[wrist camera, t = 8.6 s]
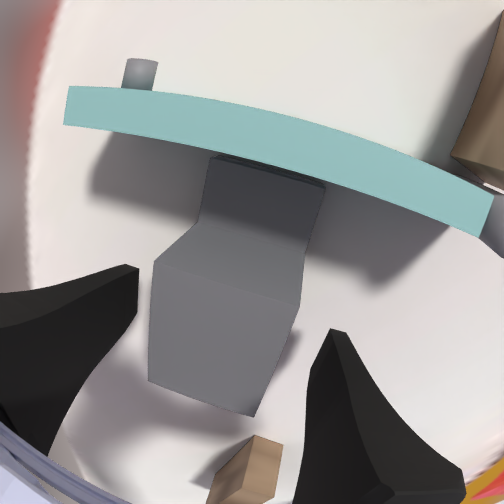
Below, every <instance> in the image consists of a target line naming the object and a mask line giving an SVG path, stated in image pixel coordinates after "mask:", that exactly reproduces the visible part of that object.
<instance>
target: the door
mask: <svg viewBox="0 0 504 504" xmlns="http://www.w3.org/2000/svg"><path fill="white" fill-rule="evenodd" d="M157 66H158V62H156V61H152V60H146V59H134V58H131V59H127V63H126V68H125V72H124V76H123V81H122V86H121V88H111V87H89V86H69V90H68V95H67V101H66V108H65V115H64V122H63V125H69V126H78V127H86V128H93V129H100V130H107V131H114V132H120V133H127V134H133V135H138V136H144V137H150V138H155V139H161V140H166V141H171V142H176V143H181V144H186V145H191V146H195V147H200V148H205V149H209V150H213V151H218V152H222V153H226V154H231V155H235V156H239V157H243V158H247V159H251V160H255V161H259V162H262V163H266V164H270V165H274V166H277V167H281V168H285V169H288V170H292V171H295V172H299V173H302V174H305V175H309V176H312V177H315V178H319V179H322V180H325V181H328V182H332V183H335V184H338V185H341V186H344V187H347V188H350V189H353V190H356V191H359V192H362V193H365V194H368V195H371V196H374V197H377V198H380V199H382V200H385V201H388V202H391V203H394V204H396V205H399V206H402V207H404V208H407V209H410V210H412V211H415V212H418V213H420V214H423V215H425V216H428V217H430V218H433V219H435V220H438V221H440V222H443V223H445V224H448V225H450V226H452V227H455V228H457V229H459V230H462V231H464V232H466V233H469V234H471V235H473V236H475V237H478V238H479V239H480V240H481V241H483V242H484V243H485V244H486V245H487V246H489V247H490V248H491V249H492V250H493V251H494V252H496V253H497V254H498V255H499V256H500V257H502V258H504V194H502V193H499V192H497V191H495V190H493V189H491V188H488V187H486V186H484V185H482V184H479V183H477V182H475V181H472V180H470V179H467V178H465V177H462V176H459V175H452V174H450V173H448V172H446V171H443V170H441V169H439V168H437V167H435V166H432V165H430V164H428V163H425V162H423V161H421V160H418V159H416V158H414V157H411V156H409V155H406V154H404V153H401V152H399V151H396V150H393V149H391V148H388V147H386V146H383V145H380V144H377V143H375V142H372V141H369V140H366V139H363V138H360V137H357V136H354V135H351V134H348V133H345V132H342V131H339V130H336V129H333V128H329V127H326V126H323V125H319V124H316V123H313V122H309V121H305V120H302V119H298V118H294V117H291V116H287V115H283V114H279V113H275V112H271V111H266V110H262V109H258V108H253V107H248V106H244V105H239V104H234V103H229V102H223V101H218V100H212V99H207V98H201V97H194V96H188V95H181V94H173V93H165V92H157V91H152V87H153V83H154V78H155V74H156V70H157Z"/></svg>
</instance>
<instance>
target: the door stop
mask: <svg viewBox="0 0 504 504" xmlns="http://www.w3.org/2000/svg"><path fill="white" fill-rule="evenodd" d="M324 192H325V185H324V184H323V183H320V182H316V181H313V180H310V179H306V178H303V177H299V176H296V175H293V174H289V173H285V172H282V171H278V170H275V169H271V168H267V167H264V166H260V165H256V164H252V163H248V162H244V161H240V160H236V159H232V158H228V157H224V156H220V155H218V156H215V157H212V158H210V162H209V166H208V171H207V176H206V181H205V186H204V192H203V197H202V202H201V207H200V213H199V218H198V222H197V223H196V224H195V225H194V226H193V227H192V228H191V229H189V230H188V231H187V232H186V233H185V234H184V235H183V236H181V237H180V238H179V239H178V240H177V241H176V242H175V243H173V244H172V245H171V246H170V247H169V248H168V249H167V250H166V251H164V252H163V253H162V254H161V255H160V256H159V257H158V258H157V259H156V260H155V261H154V266H153V277H152V290H151V304H150V321H149V344H148V381H149V382H152V383H154V384H156V385H159V386H161V387H164V388H166V389H169V390H172V391H174V392H177V393H180V394H182V395H185V396H188V397H190V398H193V399H196V400H199V401H202V402H205V403H208V404H211V405H214V406H217V407H220V408H223V409H226V410H230V411H233V412H236V413H240V414H243V415H246V416H250V417H254V416H255V414H256V412H257V409H258V407H259V405H260V403H261V400H262V398H263V396H264V393H265V391H266V389H267V386H268V384H269V382H270V379H271V377H272V375H273V372H274V370H275V368H276V365H277V363H278V360H279V358H280V355H281V353H282V351H283V348H284V346H285V343H286V341H287V338H288V336H289V333H290V330H291V328H292V325H293V323H294V320H295V318H296V315H297V312H298V310H299V307H300V300H301V290H302V280H303V269H304V258H305V252H306V249H307V246H308V243H309V240H310V237H311V233H312V230H313V227H314V224H315V221H316V218H317V215H318V211H319V208H320V205H321V202H322V199H323V195H324Z"/></svg>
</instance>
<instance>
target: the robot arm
mask: <svg viewBox="0 0 504 504" xmlns="http://www.w3.org/2000/svg"><path fill="white" fill-rule="evenodd" d="M138 283H139V268H136V267H133V266H130V265H127V264H123V265H119V266H116V267H112V268H109V269H106V270H103V271H100V272H97V273H94V274H91V275H88V276H85V277H82V278H78V279H75V280H71V281H68V282H64V283H61V284H58V285H54V286H49V287H45V288H40V289H34V290H28V291H20V292H10V293H0V504H63V503H62V502H60V501H58V500H57V499H55V498H54V497H53V496H52V495H51V494H50V493H49V492H47V490H46V489H45V488H44V487H43V486H42V485H41V484H40V483H39V481H38V479H37V478H36V477H34V476H33V475H32V474H31V473H30V472H29V471H31V472H32V473H33V474H35V475H36V476H38V477H39V478H41V479H42V480H44V481H45V482H46V483H48V484H49V485H51V486H52V487H54V488H55V489H57V490H58V491H60V492H62V493H63V494H65V495H66V496H68V497H70V498H71V499H73V500H75V501H77V502H78V503H80V504H131V503H129V502H127V501H124V500H122V499H120V498H118V497H116V496H114V495H112V494H110V493H108V492H106V491H104V490H102V489H100V488H98V487H96V486H94V485H93V484H91V483H89V482H87V481H85V480H84V479H82V478H80V477H78V476H77V475H75V474H73V473H71V472H70V471H68V470H67V469H65V468H63V467H61V466H60V465H59V464H57V463H56V462H54V461H52V460H51V459H49V458H48V457H47V456H48V453H49V451H50V448H51V446H52V444H53V441H54V439H55V436H56V434H57V432H58V430H59V427H60V425H61V423H62V421H63V419H64V417H65V415H66V413H67V411H68V410H69V408H70V406H71V404H72V402H73V401H74V399H75V397H76V395H77V394H78V392H79V390H80V389H81V387H82V386H83V384H84V382H85V381H86V379H87V378H88V376H89V375H90V374H91V372H92V371H93V369H94V368H95V367H96V366H97V365H98V363H99V362H100V361H101V360H102V359H103V357H104V356H105V355H106V354H107V353H108V352H109V350H110V349H111V348H112V347H113V346H114V345H115V343H116V342H117V341H118V340H119V339H120V337H121V336H122V335H123V334H124V332H125V331H126V330H127V328H128V327H129V325H130V323H131V322H132V320H133V319H134V317H135V315H136V314H137V306H138ZM17 461H18V462H19V463H20V464H21V465H20V464H19V463H18V462H17ZM22 465H23V466H24V467H25V468H27V469H28V470H29V471H27V470H26V469H25V468H24V467H23V466H22ZM465 496H466V488H465V483H464V478H463V473H462V470H461V469H460V468H458V467H457V466H456V465H454V464H453V463H451V462H450V461H448V460H447V459H445V458H444V457H443V456H441V455H440V454H439V453H437V452H436V451H435V450H434V449H433V448H431V447H430V446H429V445H428V444H427V443H426V442H424V441H423V440H422V439H421V438H420V437H419V436H418V435H417V434H416V433H415V432H414V431H413V430H412V429H411V428H410V427H409V426H408V425H407V424H406V423H405V422H404V420H403V419H402V418H401V417H400V416H399V415H398V413H397V412H396V411H395V410H394V408H393V407H392V406H391V405H390V403H389V402H388V401H387V399H386V398H385V397H384V395H383V394H382V392H381V391H380V389H379V388H378V386H377V385H376V383H375V382H374V380H373V379H372V377H371V376H370V374H369V372H368V371H367V369H366V367H365V365H364V364H363V362H362V360H361V358H360V357H359V355H358V353H357V351H356V349H355V348H354V346H353V344H352V342H351V340H350V338H349V337H348V335H347V333H346V332H342V331H338V330H335V329H331V328H330V330H329V332H328V334H327V336H326V338H325V340H324V342H323V344H322V346H321V348H320V350H319V353H318V355H317V357H316V359H315V361H314V363H313V365H312V367H311V369H310V375H309V381H308V387H307V396H306V420H305V441H304V451H303V457H302V462H301V467H300V473H299V477H298V482H297V486H296V490H295V495H294V498H293V502H292V504H460V503H461V502H462V501H463V499H464V498H465Z"/></svg>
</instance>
